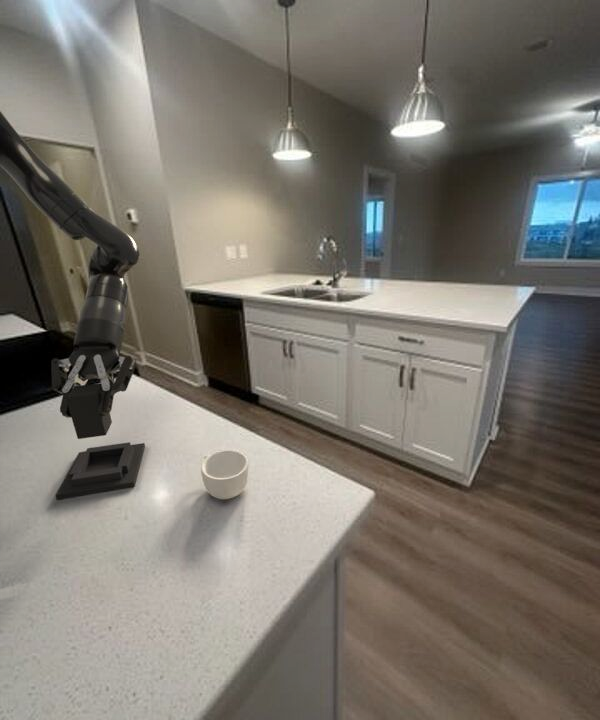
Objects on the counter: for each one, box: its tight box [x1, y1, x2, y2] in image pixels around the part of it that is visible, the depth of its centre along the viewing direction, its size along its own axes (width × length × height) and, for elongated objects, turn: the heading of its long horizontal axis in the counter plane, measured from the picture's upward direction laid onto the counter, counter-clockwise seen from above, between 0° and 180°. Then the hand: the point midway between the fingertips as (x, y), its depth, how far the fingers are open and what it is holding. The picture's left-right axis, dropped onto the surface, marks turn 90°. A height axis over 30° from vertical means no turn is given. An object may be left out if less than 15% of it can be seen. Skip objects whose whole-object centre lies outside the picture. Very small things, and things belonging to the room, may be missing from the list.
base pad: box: [55, 442, 146, 501], centre depth 63 cm, size 12×12×2 cm
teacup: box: [200, 449, 250, 500], centre depth 59 cm, size 10×8×5 cm
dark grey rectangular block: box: [66, 382, 113, 440], centre depth 59 cm, size 4×4×8 cm
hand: (85, 415), depth 57 cm, fingers closed on dark grey rectangular block, 5 cm apart
